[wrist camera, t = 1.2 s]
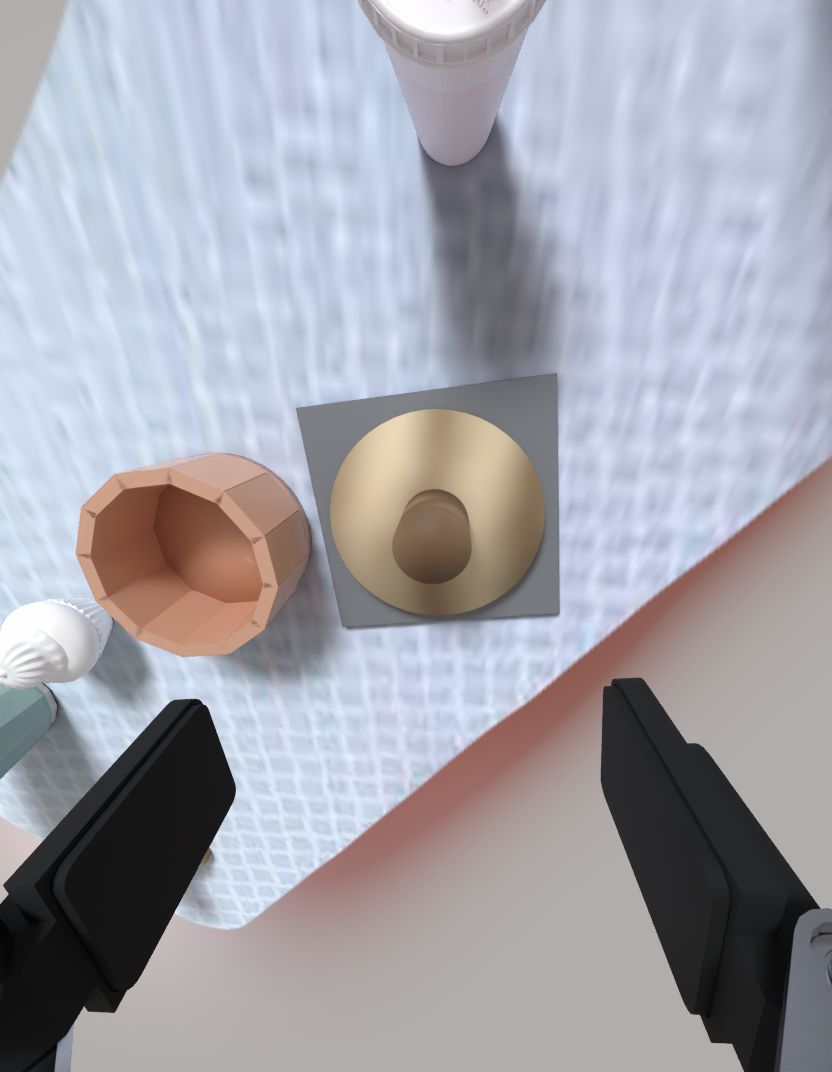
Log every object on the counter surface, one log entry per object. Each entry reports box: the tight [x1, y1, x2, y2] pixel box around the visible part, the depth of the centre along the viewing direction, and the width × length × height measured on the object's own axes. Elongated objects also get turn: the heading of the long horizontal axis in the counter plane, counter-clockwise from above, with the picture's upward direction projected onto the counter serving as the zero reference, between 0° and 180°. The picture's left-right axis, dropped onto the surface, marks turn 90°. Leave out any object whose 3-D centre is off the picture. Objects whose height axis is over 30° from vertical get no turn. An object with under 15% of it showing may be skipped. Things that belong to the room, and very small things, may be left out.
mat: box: [296, 373, 560, 627], centre depth 26 cm, size 15×15×1 cm
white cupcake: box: [0, 598, 113, 690], centre depth 28 cm, size 6×6×7 cm
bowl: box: [76, 453, 311, 657], centre depth 25 cm, size 11×11×6 cm
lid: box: [330, 409, 545, 615], centre depth 23 cm, size 13×13×6 cm
